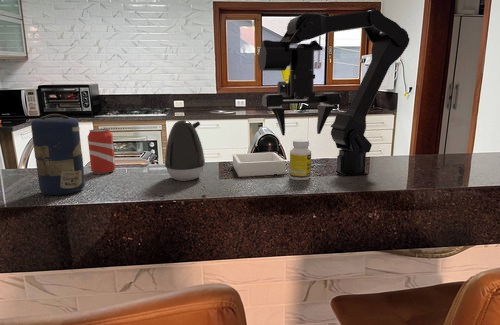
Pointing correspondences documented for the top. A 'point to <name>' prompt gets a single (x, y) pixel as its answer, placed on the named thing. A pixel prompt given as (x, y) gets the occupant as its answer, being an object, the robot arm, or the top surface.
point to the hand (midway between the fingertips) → (301, 134)
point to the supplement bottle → (300, 160)
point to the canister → (58, 154)
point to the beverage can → (101, 151)
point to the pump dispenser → (184, 152)
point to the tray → (258, 164)
